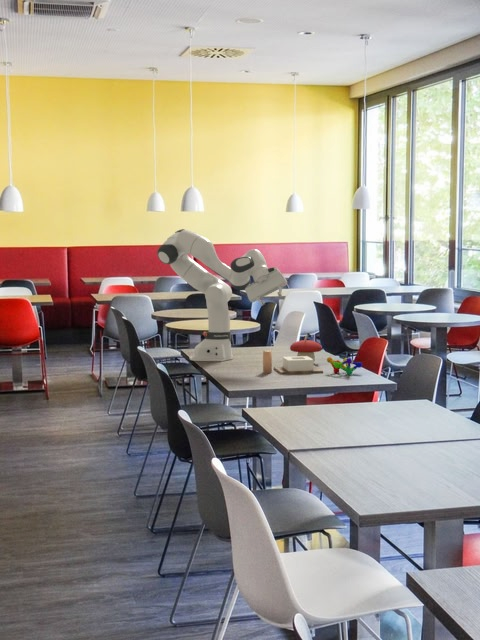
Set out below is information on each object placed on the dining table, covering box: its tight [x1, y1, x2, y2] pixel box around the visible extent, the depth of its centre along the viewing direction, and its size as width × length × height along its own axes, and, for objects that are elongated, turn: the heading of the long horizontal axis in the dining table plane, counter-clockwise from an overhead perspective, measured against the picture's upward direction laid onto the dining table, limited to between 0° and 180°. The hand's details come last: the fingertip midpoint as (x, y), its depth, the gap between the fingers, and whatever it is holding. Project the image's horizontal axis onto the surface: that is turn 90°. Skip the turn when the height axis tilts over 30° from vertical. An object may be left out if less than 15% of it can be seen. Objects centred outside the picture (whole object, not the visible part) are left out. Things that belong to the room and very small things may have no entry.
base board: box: [273, 365, 324, 375], centre depth 399 cm, size 20×16×1 cm
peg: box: [262, 350, 273, 374], centre depth 394 cm, size 4×4×10 cm
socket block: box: [282, 356, 315, 371], centre depth 399 cm, size 12×12×5 cm
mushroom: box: [289, 332, 323, 362], centre depth 421 cm, size 16×16×15 cm
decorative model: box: [326, 356, 363, 376], centre depth 389 cm, size 13×9×15 cm
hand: (271, 300), depth 405 cm, fingers open, 8 cm apart
